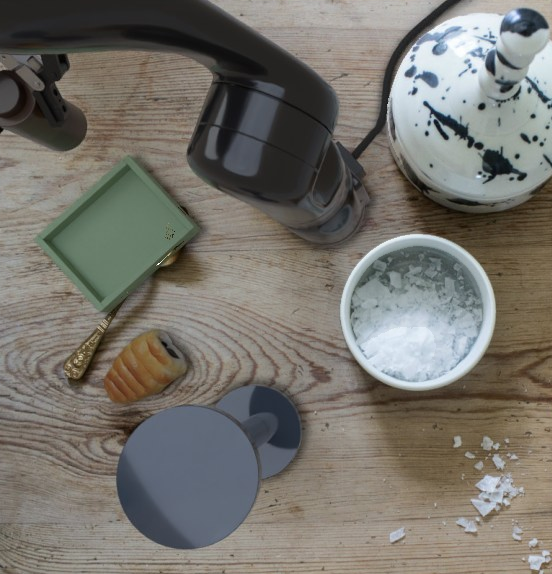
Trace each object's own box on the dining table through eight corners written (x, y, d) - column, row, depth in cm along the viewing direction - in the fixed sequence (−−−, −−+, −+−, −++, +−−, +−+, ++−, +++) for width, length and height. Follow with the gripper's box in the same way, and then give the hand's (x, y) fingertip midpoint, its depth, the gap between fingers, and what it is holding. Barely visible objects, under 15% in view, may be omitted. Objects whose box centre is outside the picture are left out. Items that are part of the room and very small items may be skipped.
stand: (259, 359, 73) (192, 375, 52) (327, 433, 73) (288, 480, 52) (184, 428, 72) (85, 473, 51) (252, 503, 72) (181, 580, 51)
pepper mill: (95, 111, 63) (37, 76, 54) (77, 158, 63) (16, 131, 54) (47, 95, 63) (-19, 56, 54) (29, 142, 63) (-40, 111, 54)
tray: (136, 159, 74) (127, 154, 72) (201, 229, 74) (194, 226, 71) (45, 241, 73) (32, 239, 71) (109, 312, 73) (99, 312, 71)
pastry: (132, 416, 72) (115, 422, 69) (97, 372, 73) (79, 374, 69) (195, 366, 73) (182, 369, 69) (160, 322, 73) (146, 322, 69)
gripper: (-220, -51, 43) (-67, 159, 55) (-16, -76, 44) (94, 138, 55) (-157, -76, 49) (-30, 120, 60) (24, -98, 49) (117, 101, 61)
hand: (29, 127), depth 58 cm, fingers closed on pepper mill, 5 cm apart
